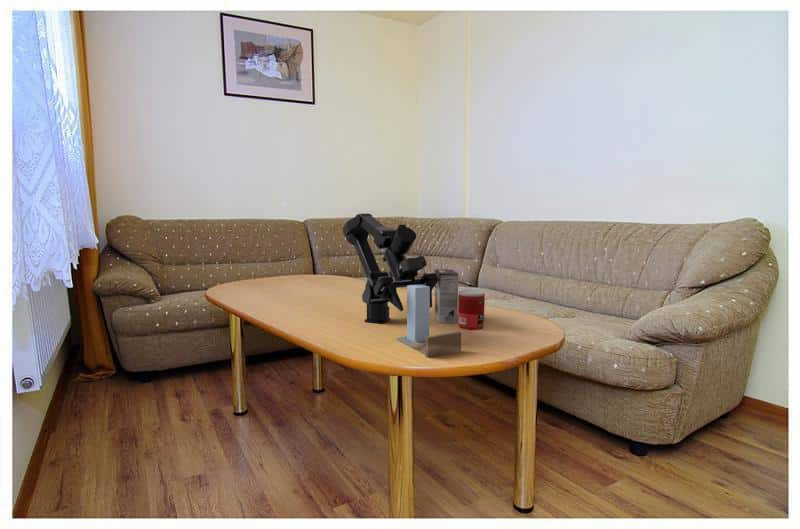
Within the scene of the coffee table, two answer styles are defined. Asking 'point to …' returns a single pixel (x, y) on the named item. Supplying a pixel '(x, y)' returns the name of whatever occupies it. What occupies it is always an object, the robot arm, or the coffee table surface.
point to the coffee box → (446, 296)
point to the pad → (408, 341)
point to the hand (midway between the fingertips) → (416, 308)
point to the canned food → (471, 309)
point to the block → (418, 312)
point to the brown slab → (440, 344)
